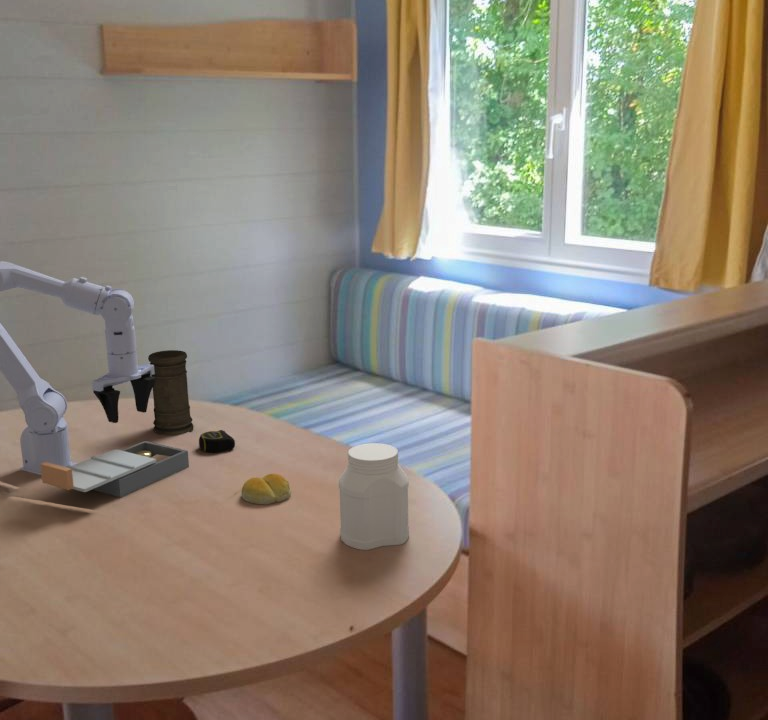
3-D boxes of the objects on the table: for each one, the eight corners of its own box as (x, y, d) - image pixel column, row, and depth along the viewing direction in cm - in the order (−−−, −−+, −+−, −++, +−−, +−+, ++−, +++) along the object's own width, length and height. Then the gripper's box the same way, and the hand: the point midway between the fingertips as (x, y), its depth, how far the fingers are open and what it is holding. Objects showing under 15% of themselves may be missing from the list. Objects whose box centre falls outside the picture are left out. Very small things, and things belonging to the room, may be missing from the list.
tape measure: (236, 453, 198) (235, 436, 197) (205, 458, 195) (204, 441, 194) (226, 443, 204) (225, 427, 203) (195, 449, 200) (194, 432, 200)
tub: (77, 487, 180) (75, 468, 179) (146, 459, 195) (145, 440, 194) (121, 500, 174) (119, 480, 173) (189, 469, 188) (187, 450, 187)
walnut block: (145, 472, 185) (144, 461, 185) (157, 466, 189) (156, 454, 188) (162, 475, 184) (161, 463, 183) (174, 468, 187) (173, 456, 187)
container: (184, 438, 207) (178, 359, 202) (146, 436, 208) (139, 358, 204) (200, 425, 215) (194, 349, 211) (163, 423, 217) (157, 348, 212)
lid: (35, 483, 171) (32, 461, 170) (115, 451, 187) (113, 431, 186) (77, 495, 165) (74, 473, 164) (156, 461, 181) (154, 441, 180)
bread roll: (236, 493, 176) (235, 474, 175) (281, 485, 180) (281, 466, 179) (249, 509, 169) (248, 489, 168) (296, 500, 173) (295, 480, 172)
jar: (349, 553, 151) (346, 465, 147) (334, 529, 160) (331, 446, 156) (416, 542, 154) (415, 456, 151) (398, 519, 163) (397, 438, 159)
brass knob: (132, 466, 189) (131, 454, 188) (144, 461, 191) (143, 449, 191) (143, 469, 187) (142, 457, 187) (155, 464, 190) (154, 452, 189)
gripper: (107, 361, 177) (113, 429, 181) (163, 345, 189) (168, 410, 193) (82, 357, 181) (89, 424, 184) (138, 342, 193) (143, 405, 196)
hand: (127, 416), depth 189 cm, fingers open, 7 cm apart
